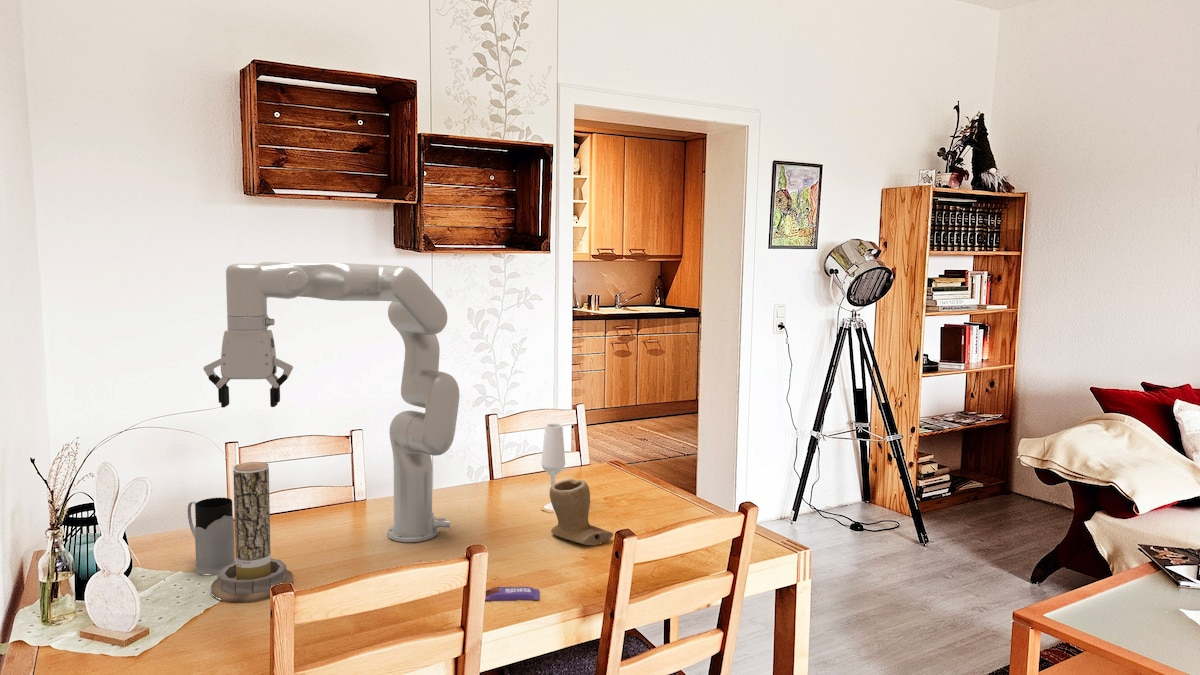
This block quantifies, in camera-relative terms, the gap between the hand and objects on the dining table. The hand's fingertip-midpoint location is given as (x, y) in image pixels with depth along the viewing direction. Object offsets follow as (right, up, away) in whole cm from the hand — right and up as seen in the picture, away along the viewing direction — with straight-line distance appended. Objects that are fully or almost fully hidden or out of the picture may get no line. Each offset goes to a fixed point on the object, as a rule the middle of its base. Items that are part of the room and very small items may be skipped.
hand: (249, 406), depth 167 cm
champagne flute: (+59, -34, +60) cm, 91 cm away
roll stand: (-1, -39, +4) cm, 39 cm away
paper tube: (-1, -38, +4) cm, 38 cm away
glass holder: (-16, -37, +15) cm, 43 cm away
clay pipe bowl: (+67, -37, +37) cm, 85 cm away
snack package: (+54, -41, +3) cm, 68 cm away
